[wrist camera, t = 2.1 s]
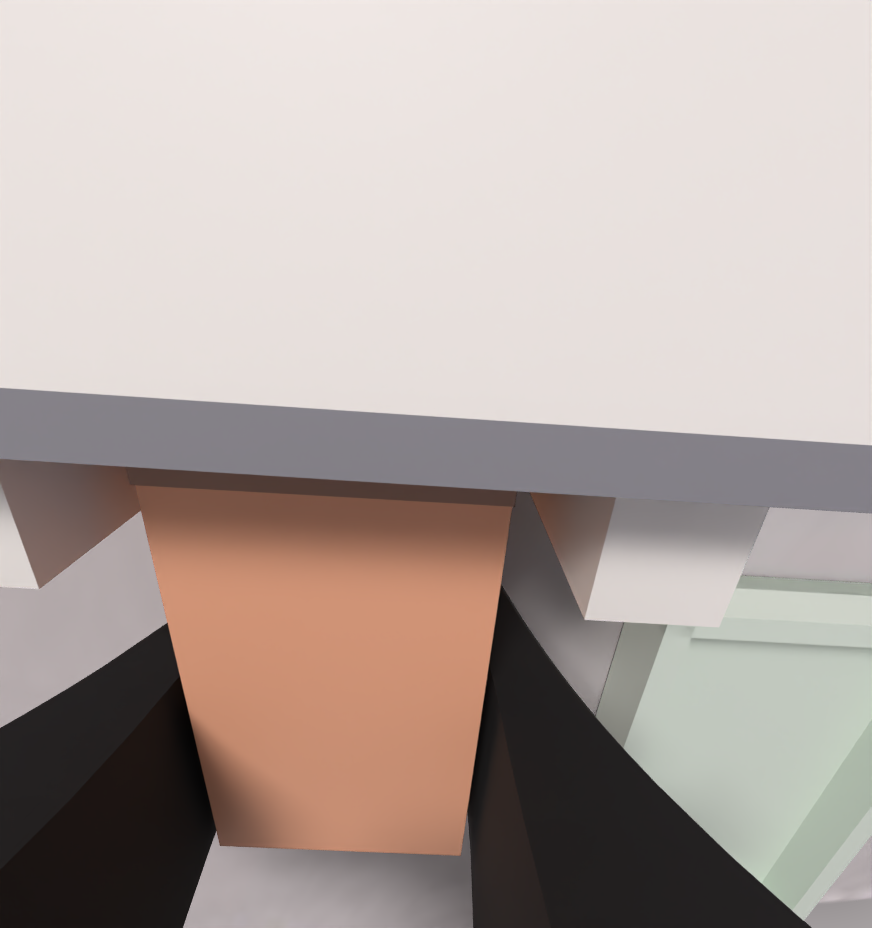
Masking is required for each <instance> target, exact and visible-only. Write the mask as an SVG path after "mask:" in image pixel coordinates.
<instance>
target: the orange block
mask: <svg viewBox="0 0 872 928" xmlns="http://www.w3.org/2000/svg"><path fill="white" fill-rule="evenodd" d="M126 471H127V475H128V479H129V484H130V485H135V487H136V491H137V495H138V500H139V504H140V508H141V512H142V517H143V521H144V525H145V529H146V534H147V538H148V542H149V546H150V551H151V555H152V559H153V563H154V567H155V572H156V576H157V580H158V584H159V589H160V593H161V597H162V601H163V606H164V610H165V614H166V618H167V623H168V627H169V631H170V635H171V640H172V644H173V648H174V652H175V657H176V661H177V665H178V669H179V674H180V678H181V682H182V686H183V691H184V695H185V699H186V703H187V708H188V712H189V716H190V720H191V724H192V729H193V733H194V737H195V741H196V746H197V750H198V754H199V758H200V763H201V767H202V771H203V775H204V780H205V784H206V788H207V792H208V797H209V801H210V805H211V809H212V814H213V818H214V822H215V826H216V831H217V835H218V839H219V843H220V846H236V847H261V848H285V849H309V850H333V851H357V852H382V853H406V854H430V855H454V856H461V849H462V843H463V836H464V829H465V822H466V816H467V809H468V802H469V795H470V789H471V782H472V775H473V768H474V762H475V755H476V748H477V741H478V735H479V728H480V721H481V714H482V708H483V701H484V694H485V687H486V681H487V674H488V667H489V660H490V654H491V647H492V640H493V633H494V627H495V620H496V613H497V607H498V600H499V593H500V586H501V580H502V573H503V566H504V559H505V553H506V546H507V539H508V532H509V526H510V519H511V512H512V507H515V501H516V494H517V491H505V490H489V489H473V488H457V487H441V486H425V485H409V484H393V483H377V482H361V481H345V480H329V479H313V478H297V477H281V476H265V475H249V474H233V473H218V472H202V471H186V470H170V469H154V468H138V467H126Z"/></svg>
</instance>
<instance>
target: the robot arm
mask: <svg viewBox="0 0 872 928" xmlns="http://www.w3.org/2000/svg"><path fill="white" fill-rule="evenodd" d="M467 813H468V823H469V836H470V849H471V873H472V901H473V928H811V927H810V926H809V925H808V924H807V923H806V922H805V921H803V920H802V919H801V918H800V917H799V916H798V915H796V914H795V913H794V912H793V911H792V910H791V909H790V908H789V907H788V906H786V905H785V904H784V903H783V902H782V901H781V900H780V899H779V898H777V897H776V896H775V895H774V894H773V893H772V892H771V891H770V890H769V889H767V888H766V887H765V886H764V885H763V884H762V883H761V882H760V881H758V880H757V879H756V878H755V877H754V876H753V875H752V874H751V873H749V872H748V871H747V870H746V869H745V868H744V867H743V866H742V865H741V864H739V863H738V862H737V861H736V860H735V859H734V858H733V857H732V856H731V855H730V854H729V853H728V852H726V851H725V850H724V849H723V848H722V847H721V846H720V845H719V844H718V843H717V842H716V841H715V840H714V839H713V838H712V837H711V836H710V835H709V834H708V833H707V832H706V831H705V830H704V829H703V828H702V827H701V826H700V825H699V824H698V823H696V822H695V821H694V820H693V819H692V818H691V817H690V816H689V815H688V814H687V813H686V812H685V811H684V810H683V809H682V808H681V807H680V806H679V805H678V804H677V803H676V802H675V801H674V800H673V799H672V798H671V797H670V796H669V795H668V794H667V793H666V792H665V791H664V790H663V789H662V788H661V787H659V786H658V785H657V784H656V783H655V781H654V780H653V779H652V778H651V777H650V776H649V775H648V774H647V773H646V772H645V771H644V770H643V769H642V768H641V767H640V766H639V764H638V763H637V762H636V761H635V760H634V759H633V758H632V757H631V756H630V755H629V754H628V753H627V752H626V751H625V750H624V748H623V747H622V746H621V745H620V744H619V743H618V742H617V741H616V739H615V738H614V737H613V736H612V735H611V734H610V733H609V732H608V730H607V729H606V728H605V727H604V726H603V725H602V724H601V723H600V721H599V720H598V719H597V718H596V717H595V715H594V714H593V713H592V712H591V711H590V709H589V708H588V707H587V706H586V705H585V703H584V702H583V701H582V700H581V698H580V697H579V696H578V695H577V694H576V692H575V691H574V690H573V688H572V687H571V686H570V685H569V683H568V682H567V681H566V679H565V678H564V677H563V676H562V674H561V673H560V672H559V670H558V669H557V668H556V666H555V665H554V664H553V662H552V661H551V659H550V658H549V657H548V655H547V654H546V653H545V651H544V650H543V648H542V647H541V645H540V644H539V642H538V641H537V640H536V638H535V637H534V635H533V634H532V632H531V631H530V630H529V628H528V627H527V625H526V623H525V622H524V620H523V619H522V617H521V616H520V614H519V613H518V611H517V609H516V608H515V606H514V605H513V603H512V601H511V600H510V598H509V596H508V595H507V593H506V591H505V590H504V588H503V586H502V584H501V586H500V593H499V600H498V607H497V613H496V620H495V627H494V633H493V640H492V647H491V654H490V660H489V667H488V674H487V681H486V687H485V694H484V701H483V708H482V714H481V721H480V728H479V735H478V741H477V748H476V755H475V762H474V768H473V775H472V782H471V789H470V795H469V802H468V809H467ZM215 833H216V826H215V822H214V818H213V814H212V809H211V805H210V801H209V797H208V792H207V788H206V784H205V780H204V775H203V771H202V767H201V763H200V758H199V754H198V750H197V746H196V741H195V737H194V733H193V729H192V724H191V720H190V716H189V712H188V708H187V703H186V699H185V695H184V691H183V686H182V682H181V678H180V674H179V669H178V665H177V661H176V657H175V652H174V648H173V644H172V640H171V635H170V631H169V627H168V623H166V624H165V625H164V626H162V627H161V628H159V629H158V630H156V631H155V632H153V633H152V634H150V635H149V636H147V637H146V638H144V639H143V640H142V641H140V642H139V643H137V644H136V645H134V646H133V647H131V648H130V649H128V650H127V651H125V652H124V653H122V654H121V655H120V656H118V657H117V658H115V659H114V660H112V661H111V662H109V663H108V664H106V665H105V666H103V667H102V668H100V669H98V670H97V671H95V672H94V673H92V674H91V675H89V676H87V677H86V678H84V679H83V680H81V681H79V682H78V683H76V684H75V685H73V686H71V687H70V688H68V689H66V690H65V691H63V692H61V693H60V694H58V695H56V696H55V697H53V698H51V699H49V700H48V701H46V702H44V703H43V704H41V705H39V706H38V707H36V708H34V709H33V710H31V711H29V712H27V713H26V714H24V715H22V716H21V717H19V718H17V719H15V720H14V721H12V722H10V723H8V724H6V725H5V726H3V727H1V728H0V928H183V926H184V923H185V920H186V917H187V914H188V911H189V908H190V905H191V902H192V899H193V896H194V893H195V890H196V887H197V885H198V882H199V879H200V876H201V873H202V870H203V867H204V864H205V861H206V858H207V855H208V852H209V850H210V847H211V844H212V841H213V838H214V836H215Z"/></svg>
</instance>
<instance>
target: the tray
mask: <svg viewBox="0 0 872 928" xmlns="http://www.w3.org/2000/svg"><path fill="white" fill-rule="evenodd" d="M595 717H596V718H597V719H598V720H599V721H600V723H601V724H602V725H603V726H604V727H605V728H606V729H607V730H608V732H609V733H610V734H611V735H612V736H613V737H614V738H615V739H616V741H617V742H618V743H619V744H620V745H621V746H622V747H623V748H624V750H625V751H626V752H627V753H628V754H629V755H630V756H631V757H632V758H633V759H634V760H635V761H636V762H637V763H638V764H639V766H640V767H641V768H642V769H643V770H644V771H645V772H646V773H647V774H648V775H649V776H650V777H651V778H652V779H653V780H654V781H655V783H656V784H657V785H658V786H659V787H661V788H662V789H663V790H664V791H665V792H666V793H667V794H668V795H669V796H670V797H671V798H672V799H673V800H674V801H675V802H676V803H677V804H678V805H679V806H680V807H681V808H682V809H683V810H684V811H685V812H686V813H687V814H688V815H689V816H690V817H691V818H692V819H693V820H694V821H695V822H696V823H698V824H699V825H700V826H701V827H702V828H703V829H704V830H705V831H706V832H707V833H708V834H709V835H710V836H711V837H712V838H713V839H714V840H715V841H716V842H717V843H718V844H719V845H720V846H721V847H722V848H723V849H724V850H725V851H726V852H728V853H729V854H730V855H731V856H732V857H733V858H734V859H735V860H736V861H737V862H738V863H739V864H741V865H742V866H743V867H744V868H745V869H746V870H747V871H748V872H749V873H751V874H752V875H753V876H754V877H755V878H756V879H757V880H758V881H760V882H761V883H762V884H763V885H764V886H765V887H766V888H767V889H769V890H770V891H771V892H772V893H773V894H774V895H775V896H776V897H777V898H779V899H780V900H781V901H782V902H783V903H784V904H785V905H786V906H788V907H789V908H790V909H791V910H792V911H793V912H794V913H795V914H796V915H798V916H799V917H800V918H801V919H802V920H803V921H804V920H805V918H806V917H807V916H808V915H809V913H810V912H811V911H812V910H813V908H814V907H815V906H816V904H817V903H818V902H819V901H820V899H821V898H822V897H823V896H824V894H825V893H826V892H827V891H828V889H829V888H830V887H831V886H832V884H833V883H834V882H835V881H836V879H837V878H838V877H839V876H840V874H841V873H842V872H843V870H844V869H845V868H846V867H847V865H848V864H849V863H850V862H851V860H852V859H853V858H854V857H855V855H856V854H857V853H858V852H859V850H860V849H861V848H862V847H863V845H864V844H865V843H866V842H867V840H868V839H869V838H870V837H871V835H872V583H858V582H841V581H824V580H807V579H790V578H773V577H756V576H741V577H740V579H739V581H738V584H737V586H736V588H735V591H734V593H733V596H732V598H731V600H730V603H729V605H728V607H727V610H726V612H725V615H724V617H723V619H722V622H721V624H720V626H719V627H702V626H684V625H666V624H648V623H631V622H624V625H623V628H622V631H621V635H620V638H619V641H618V644H617V648H616V651H615V654H614V657H613V661H612V664H611V667H610V671H609V674H608V677H607V680H606V684H605V687H604V690H603V693H602V697H601V700H600V703H599V706H598V710H597V713H596V716H595Z"/></svg>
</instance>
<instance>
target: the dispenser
mask: <svg viewBox="0 0 872 928" xmlns="http://www.w3.org/2000/svg"><path fill="white" fill-rule="evenodd" d="M126 467H138V468H154V469H170V470H186V471H202V472H218V473H233V474H249V475H265V476H281V477H297V478H313V479H329V480H345V481H361V482H377V483H393V484H409V485H425V486H441V487H457V488H473V489H489V490H505V491H521V492H530V494H531V496H532V499H533V501H534V503H535V506H536V508H537V510H538V513H539V515H540V517H541V520H542V522H543V524H544V527H545V529H546V531H547V534H548V536H549V538H550V541H551V543H552V545H553V548H554V550H555V552H556V555H557V557H558V559H559V562H560V564H561V566H562V569H563V571H564V573H565V576H566V578H567V580H568V583H569V585H570V587H571V590H572V592H573V594H574V597H575V599H576V601H577V604H578V606H579V608H580V611H581V613H582V615H583V618H584V620H595V621H613V622H631V623H648V624H666V625H684V626H702V627H719V626H720V624H721V622H722V619H723V617H724V615H725V612H726V610H727V607H728V605H729V603H730V600H731V598H732V596H733V593H734V591H735V588H736V586H737V584H738V581H739V579H740V577H741V574H742V572H743V569H744V567H745V565H746V562H747V560H748V557H749V555H750V553H751V550H752V548H753V546H754V543H755V541H756V538H757V536H758V534H759V531H760V529H761V527H762V524H763V522H764V519H765V517H766V515H767V512H768V510H769V508H770V507H777V508H793V509H809V510H825V511H841V512H857V513H872V0H0V587H11V588H29V589H40V588H41V587H42V586H44V585H45V584H46V583H48V582H49V581H50V580H52V579H53V578H54V577H55V576H57V575H58V574H59V573H61V572H62V571H63V570H64V569H66V568H67V567H68V566H70V565H71V564H72V563H73V562H75V561H76V560H77V559H79V558H80V557H81V556H83V555H84V554H85V553H86V552H88V551H89V550H90V549H92V548H93V547H94V546H95V545H97V544H98V543H99V542H101V541H102V540H103V539H104V538H106V537H107V536H108V535H110V534H111V533H112V532H113V531H115V530H116V529H117V528H119V527H120V526H121V525H123V524H124V523H125V522H126V521H128V520H129V519H130V518H132V517H133V516H134V515H135V514H137V513H138V512H139V511H141V508H140V504H139V500H138V495H137V491H136V487H135V485H130V484H129V479H128V475H127V471H126Z"/></svg>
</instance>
